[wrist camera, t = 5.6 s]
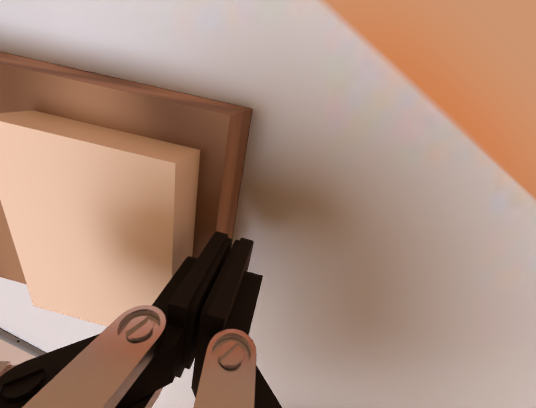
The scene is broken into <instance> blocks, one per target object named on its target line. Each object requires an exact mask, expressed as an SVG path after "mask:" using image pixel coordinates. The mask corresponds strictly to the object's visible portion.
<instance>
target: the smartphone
mask: <svg viewBox="0 0 536 408" xmlns="http://www.w3.org/2000/svg"><path fill="white" fill-rule="evenodd" d="M43 354H46V352H44V351H42V350H40V349H38V348H36V347H34V346H33V345H31V344H29V343H27V342H25V341H23V340H21V339H19V338H18V337H16V336H14V335H12V334H10V333H8V332H6V331H4V330H3V329H1V328H0V361H10V362H11V365H18V364H20V363H23V362H25V361H27V360H30V359H32V358H35V357H38V356H41V355H43Z"/></svg>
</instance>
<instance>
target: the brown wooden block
mask: <svg viewBox="0 0 536 408" xmlns="http://www.w3.org/2000/svg"><path fill="white" fill-rule="evenodd" d="M22 111H38V112H42V113H46V114H51V115H55V116H59V117H63V118H68V119H72V120H76V121H80V122H84V123H89V124H93V125H97V126H101V127H106V128H110V129H114V130H118V131H122V132H127V133H131V134H135V135H139V136H144V137H148V138H152V139H156V140H160V141H165V142H169V143H173V144H177V145H182V146H186V147H190V148H194V149H198V150H200V161H199V174H198V187H197V201H196V214H195V227H194V240H193V253H192V257H194V258H198V257H199V255H200V254H201V252H202V251H203V249H204V248H205V246H206V245H207V243H208V242H209V240H210V239H211V237H212V236H213V234H214V233H215V231H218V232H222V233H225V234H228V235H229V237H228V238H231V239H232V235H233V229H234V222H235V216H236V210H237V203H238V197H239V191H240V184H241V178H242V172H243V165H244V159H245V153H246V146H247V140H248V134H249V128H250V121H251V115H252V109H251V108H246V107H242V106H238V105H233V104H229V103H224V102H220V101H215V100H211V99H207V98H202V97H198V96H193V95H189V94H184V93H180V92H176V91H171V90H167V89H162V88H158V87H153V86H149V85H145V84H140V83H136V82H131V81H127V80H122V79H118V78H114V77H109V76H105V75H100V74H96V73H91V72H87V71H83V70H78V69H74V68H69V67H65V66H60V65H56V64H52V63H47V62H43V61H38V60H34V59H29V58H25V57H21V56H16V55H12V54H7V53H3V52H0V113H7V112H22ZM0 277H2V278H6V279H10V280H13V281H17V282H20V283H24V284H27V283H26V280H25V277H24V274H23V271H22V267H21V264H20V261H19V258H18V255H17V251H16V248H15V245H14V242H13V239H12V236H11V232H10V229H9V226H8V223H7V220H6V216H5V213H4V210H3V207H2V204H1V200H0Z"/></svg>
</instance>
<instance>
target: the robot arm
mask: <svg viewBox="0 0 536 408" xmlns="http://www.w3.org/2000/svg"><path fill="white" fill-rule="evenodd" d="M228 237H229V235H228V234H225V233H222V232H218V231H215V233H214V234H213V236H212V237H211V239H210V240H209V242H208V243H207V245H206V246H205V248H204V249H203V251H202V252H201V254H200V255H199V257H198V258H194V257H191V256H188V257H187V258H186V259H185V260H184V262H183V263H182V264H181V266H180V267H179V269H178V270H177V271H176V273H175V274H174V275H173V277H172V278H171V280H170V281H169V282H168V284H167V285H166V286H165V288H164V289H163V291H162V292H161V293H160V295H159V296H158V297H157V299H156V300H155V301H154V303H153V304H152V306H151V305H141V306H137V307H133V308H131V309H129V310H127V311H125V312H124V313H123V314H121V315H120V316H119V317H118V318H117V319H116V320H114V321H113V322H112V323H111V324H110V325H109V326H108V327H107V328H106V329H105V330H104V331H103V332H102V333H101V334H98V335H95V336H93V337H90V338H87V339H84V340H82V341H79V342H76V343H73V344H71V345H68V346H65V347H62V348H60V349H57V350H54V351H51V352H49V353H46V354H43V355H41V356H38V357H35V358H32V359H30V360H27V361H25V362H23V363H20V364H18V365H11V362H10V361H0V408H151V407H152V406H153V404H154V403H155V401H156V400H157V398H158V396H159V395H160V393H161V391H162V389H163V387H164V386H166V385H168V384H170V383H172V382H173V380H174V378H175V376H176V377H179V378H180V377H181V375H182V373H183V371H184V368H187V369H190V367H191V365H192V363H193V361H194V358H195V363H194V371H193V379H192V387H191V388H192V390H193V393H194V395H195V398H196V399H195V404H194V408H282V407H281V405H280V404H279V402H278V400H277V399H276V397H275V395H274V394H273V392H272V390H271V389H270V387H269V385H268V384H267V382H266V380H265V379H264V377H263V376H262V374H261V372H260V371H259V369H258V367H257V366H256V347H255V345H254V342H253V340H252V339H251V338H250V337H249V331H250V327H251V323H252V319H253V314H254V310H255V306H256V302H257V298H258V294H259V290H260V286H261V281H262V277H263V276H262V275H258V274H254V273H250V272H247V270H248V266H249V261H250V257H251V252H252V248H253V243H254V241H252V240H248V239H245V238H241V239H240V241H239V240H235V242H234V244H233V246H232V248H231V245H232V239H231V238H228Z"/></svg>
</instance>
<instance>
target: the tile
mask: <svg viewBox="0 0 536 408" xmlns="http://www.w3.org/2000/svg"><path fill="white" fill-rule="evenodd" d="M199 161H200V150H198V149H194V148H190V147H186V146H182V145H177V144H173V143H169V142H165V141H160V140H156V139H152V138H148V137H144V136H139V135H135V134H131V133H127V132H122V131H118V130H114V129H110V128H106V127H101V126H97V125H93V124H89V123H84V122H80V121H76V120H72V119H68V118H63V117H59V116H55V115H51V114H46V113H42V112H38V111H22V112H7V113H0V200H1V204H2V207H3V210H4V213H5V216H6V220H7V223H8V226H9V229H10V232H11V236H12V239H13V242H14V245H15V248H16V251H17V255H18V258H19V261H20V264H21V267H22V271H23V274H24V277H25V280H26V283H27V286H28V290H29V293H30V296H31V299H32V302H33V306H36V307H40V308H43V309H47V310H50V311H54V312H57V313H61V314H65V315H68V316H72V317H75V318H79V319H82V320H86V321H90V322H93V323H97V324H100V325H104V326H109V325H110V324H111V323H112V322H113V321H114V320H116V319H117V318H118V317H119V316H120V315H121V314H123V313H124V312H125V311H127V310H129V309H131V308H133V307H137V306H141V305H151V306H152V304H153V303H154V301H155V300H156V299H157V297H158V296H159V295H160V293H161V292H162V291H163V289H164V288H165V286H166V285H167V284H168V282H169V281H170V280H171V278H172V277H173V275H174V274H175V273H176V271H177V270H178V269H179V267H180V266H181V264H182V263H183V262H184V260H185V259H186V258H187V257H188V256H191V257H192V253H193V240H194V227H195V214H196V201H197V187H198V174H199Z"/></svg>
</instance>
